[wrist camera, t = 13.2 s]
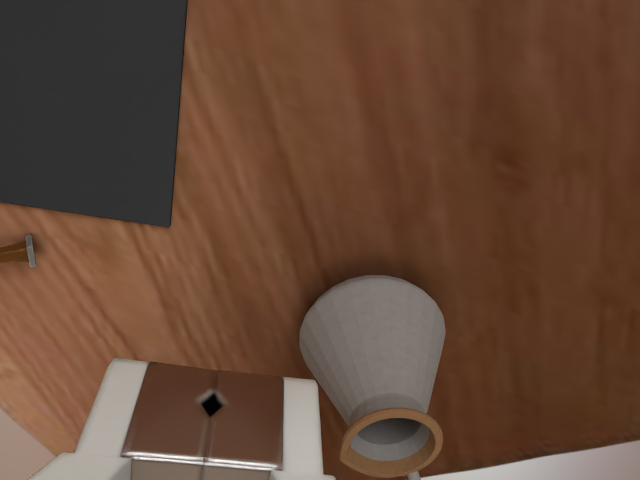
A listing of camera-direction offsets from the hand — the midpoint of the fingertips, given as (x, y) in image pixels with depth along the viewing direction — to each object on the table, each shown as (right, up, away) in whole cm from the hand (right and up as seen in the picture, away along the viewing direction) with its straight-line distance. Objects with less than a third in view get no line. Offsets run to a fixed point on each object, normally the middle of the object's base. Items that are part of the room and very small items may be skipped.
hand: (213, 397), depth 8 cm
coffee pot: (+7, -8, +40) cm, 41 cm away
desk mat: (-18, +12, +26) cm, 34 cm away
